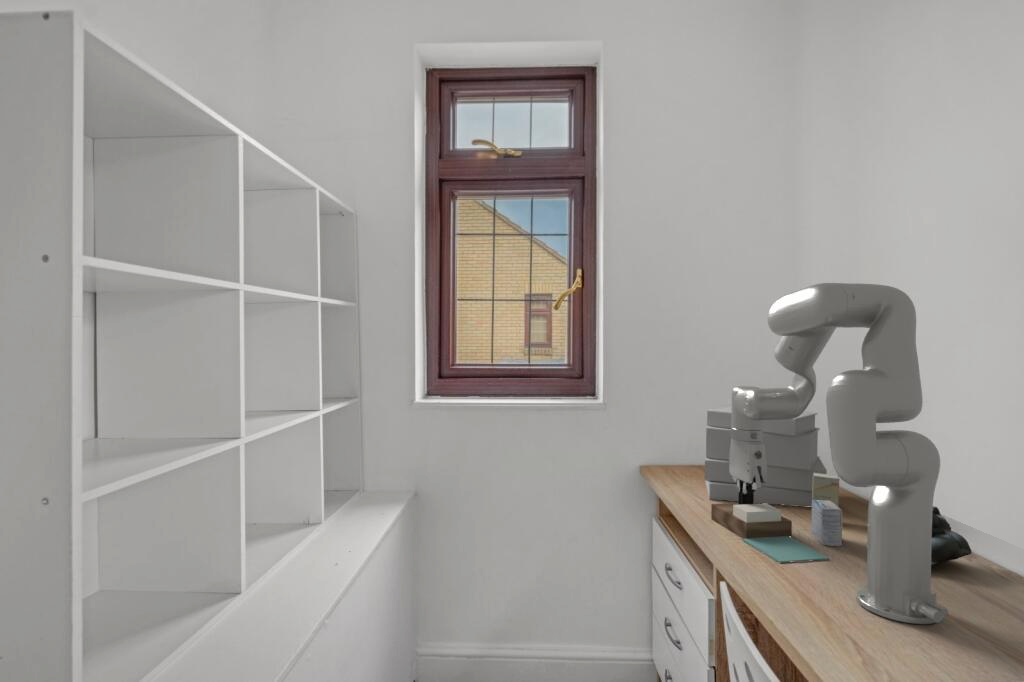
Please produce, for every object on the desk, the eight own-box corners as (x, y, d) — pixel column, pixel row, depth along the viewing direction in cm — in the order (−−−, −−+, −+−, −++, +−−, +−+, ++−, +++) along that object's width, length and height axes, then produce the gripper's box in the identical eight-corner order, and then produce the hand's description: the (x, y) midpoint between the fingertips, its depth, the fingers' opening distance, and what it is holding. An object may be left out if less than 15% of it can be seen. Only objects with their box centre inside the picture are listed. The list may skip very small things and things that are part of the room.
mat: (829, 559, 126) (829, 558, 126) (779, 563, 124) (779, 561, 124) (787, 537, 140) (787, 536, 140) (742, 540, 138) (742, 538, 138)
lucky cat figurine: (903, 572, 120) (873, 504, 126) (888, 574, 130) (862, 511, 137) (984, 557, 117) (949, 488, 123) (962, 561, 127) (932, 497, 133)
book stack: (839, 514, 160) (841, 420, 159) (705, 503, 169) (706, 414, 169) (813, 487, 189) (815, 408, 188) (700, 479, 198) (701, 403, 198)
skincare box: (811, 521, 153) (812, 475, 152) (811, 517, 156) (812, 472, 156) (838, 525, 150) (839, 478, 150) (838, 520, 154) (839, 474, 153)
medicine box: (842, 547, 134) (842, 509, 134) (821, 545, 135) (821, 508, 135) (830, 535, 142) (831, 500, 142) (811, 534, 143) (811, 499, 143)
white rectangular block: (781, 520, 140) (781, 510, 140) (746, 522, 139) (746, 512, 138) (766, 513, 146) (766, 503, 146) (733, 514, 144) (733, 504, 144)
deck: (791, 537, 140) (791, 521, 140) (746, 540, 138) (746, 523, 138) (752, 517, 156) (752, 502, 156) (711, 519, 154) (711, 504, 154)
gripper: (779, 440, 140) (777, 516, 140) (743, 430, 155) (742, 499, 155) (750, 441, 139) (749, 518, 139) (717, 430, 153) (716, 500, 154)
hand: (745, 507), depth 147 cm, fingers closed
